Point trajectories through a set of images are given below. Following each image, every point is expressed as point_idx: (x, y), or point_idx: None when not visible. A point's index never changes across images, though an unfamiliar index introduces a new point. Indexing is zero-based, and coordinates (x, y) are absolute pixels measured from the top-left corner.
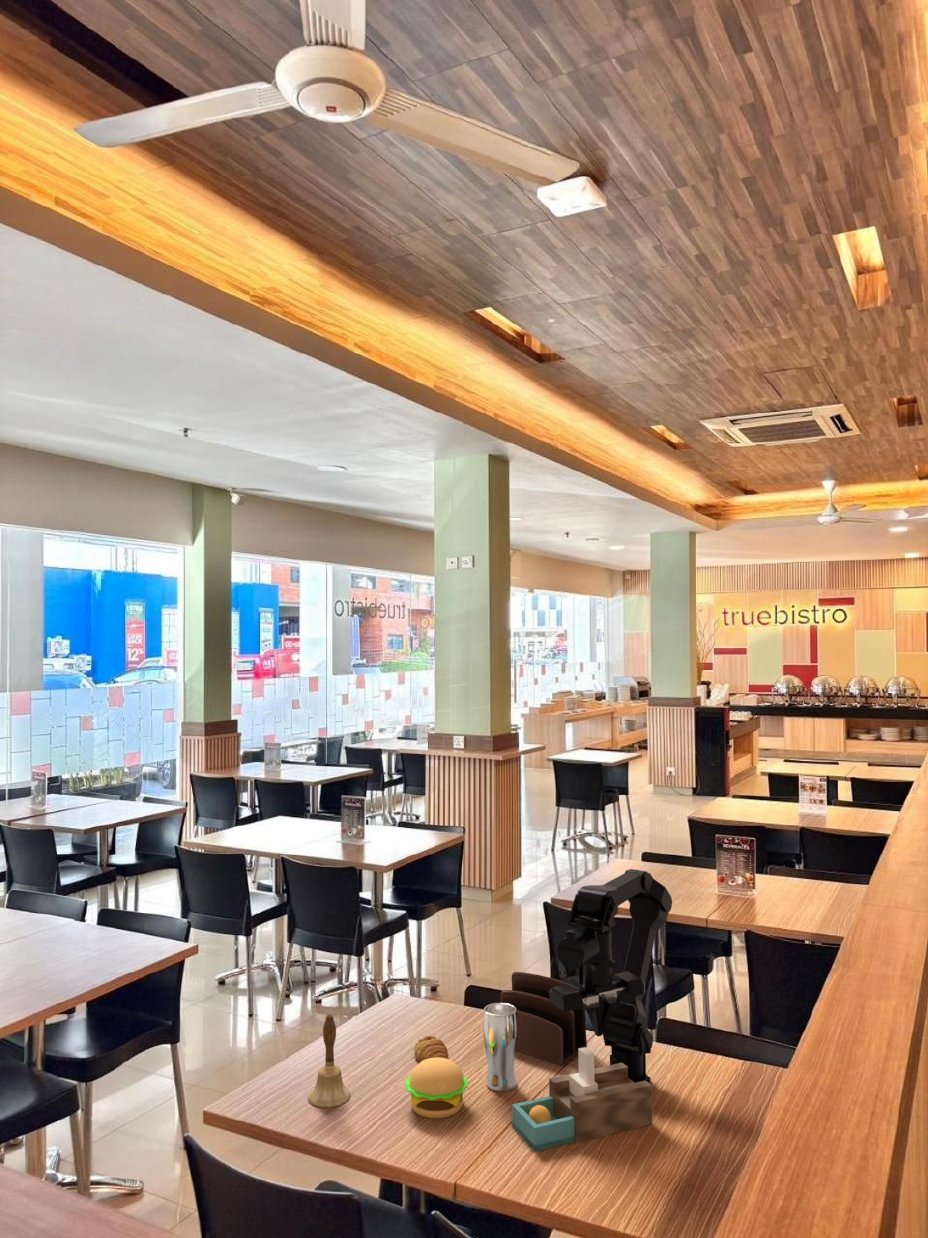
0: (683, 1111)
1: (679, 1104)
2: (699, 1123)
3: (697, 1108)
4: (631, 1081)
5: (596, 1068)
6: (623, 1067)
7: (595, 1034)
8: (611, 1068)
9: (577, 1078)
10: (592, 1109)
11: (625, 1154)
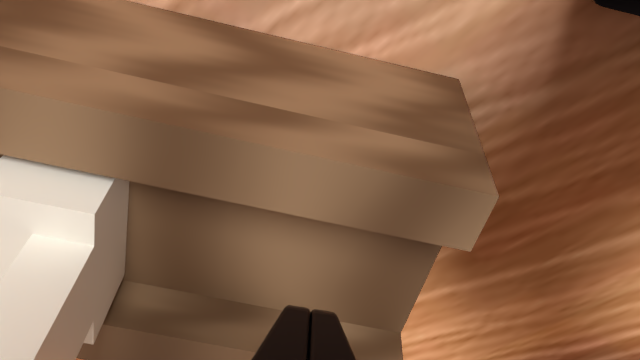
0: (560, 284)
1: (606, 248)
2: (517, 350)
3: (621, 299)
4: (433, 247)
5: (279, 154)
6: (443, 243)
7: (284, 311)
8: (366, 211)
9: (5, 251)
10: None
11: None
